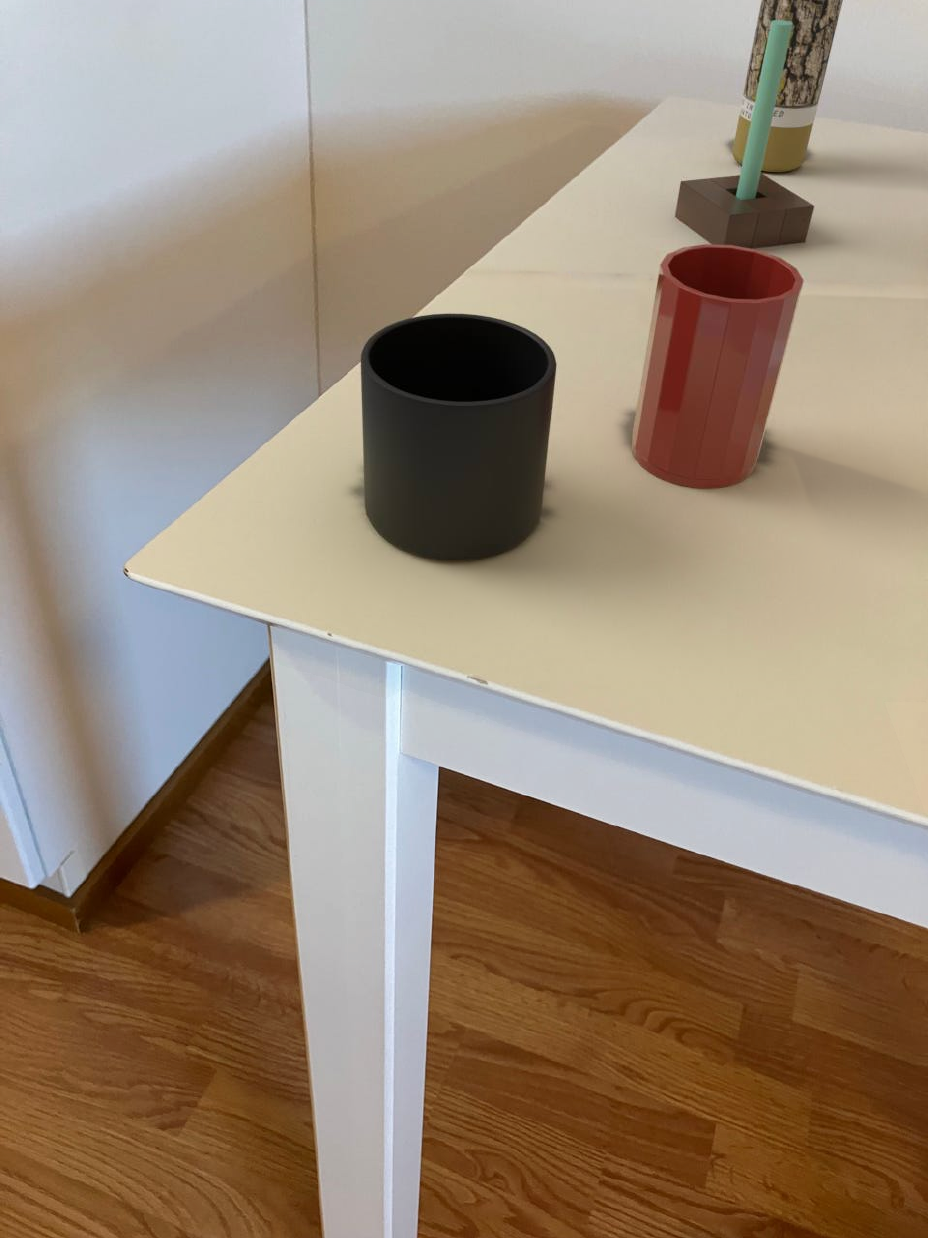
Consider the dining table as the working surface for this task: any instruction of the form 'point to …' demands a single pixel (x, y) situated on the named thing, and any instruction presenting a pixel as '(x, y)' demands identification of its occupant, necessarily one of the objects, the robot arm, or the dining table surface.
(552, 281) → the dining table surface
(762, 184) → the holder
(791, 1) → the paper tube
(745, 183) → the straw
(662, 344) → the cup
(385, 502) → the mug
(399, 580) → the dining table surface
